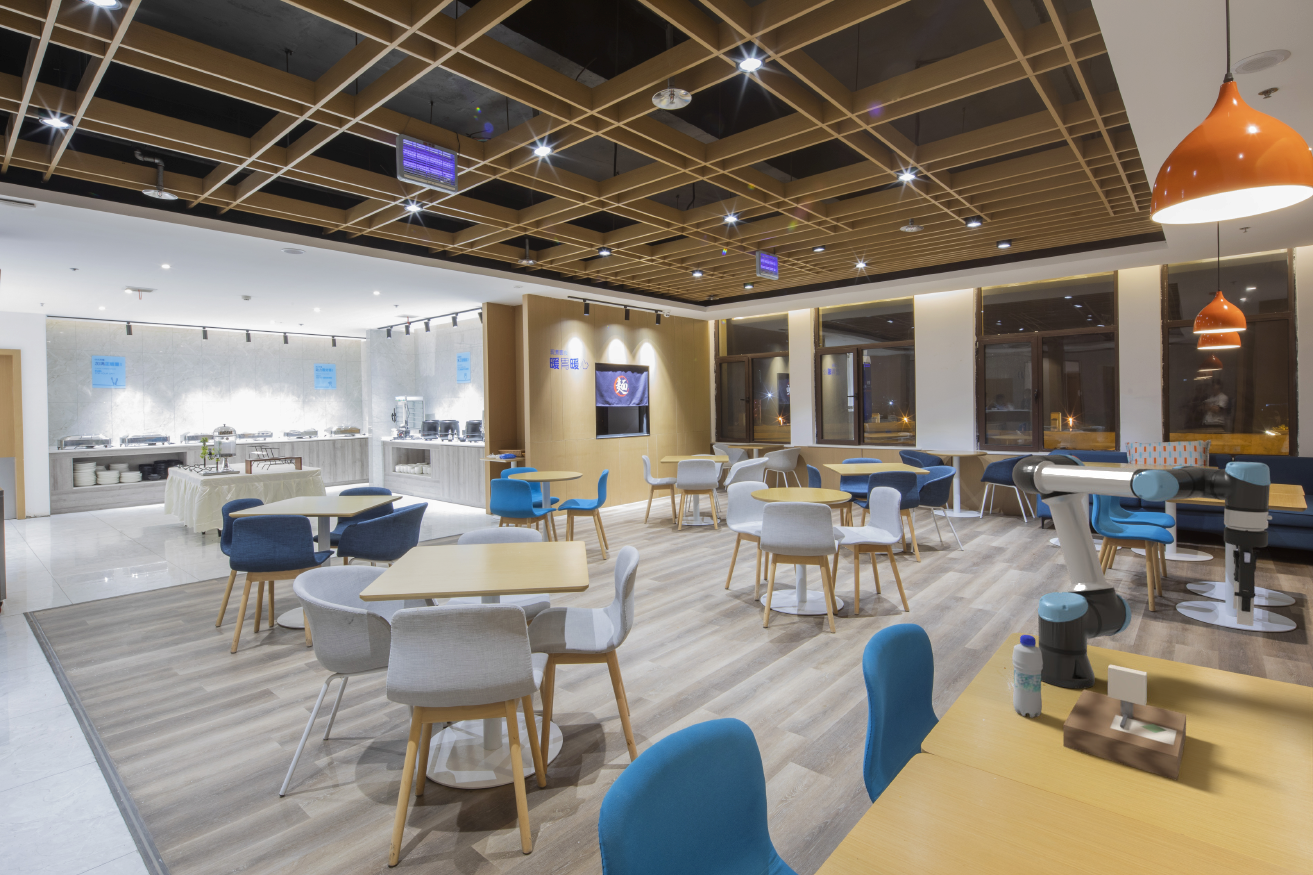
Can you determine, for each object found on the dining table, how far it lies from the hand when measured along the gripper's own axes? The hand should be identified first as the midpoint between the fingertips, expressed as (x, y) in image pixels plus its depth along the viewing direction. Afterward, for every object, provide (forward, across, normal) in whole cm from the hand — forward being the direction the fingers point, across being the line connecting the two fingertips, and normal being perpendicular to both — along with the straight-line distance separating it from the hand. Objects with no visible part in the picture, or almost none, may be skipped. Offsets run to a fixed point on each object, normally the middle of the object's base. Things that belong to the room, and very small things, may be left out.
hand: (1242, 616), depth 147 cm
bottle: (+27, -23, +40) cm, 54 cm away
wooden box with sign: (+27, -24, +20) cm, 41 cm away
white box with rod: (+22, -25, +20) cm, 39 cm away
